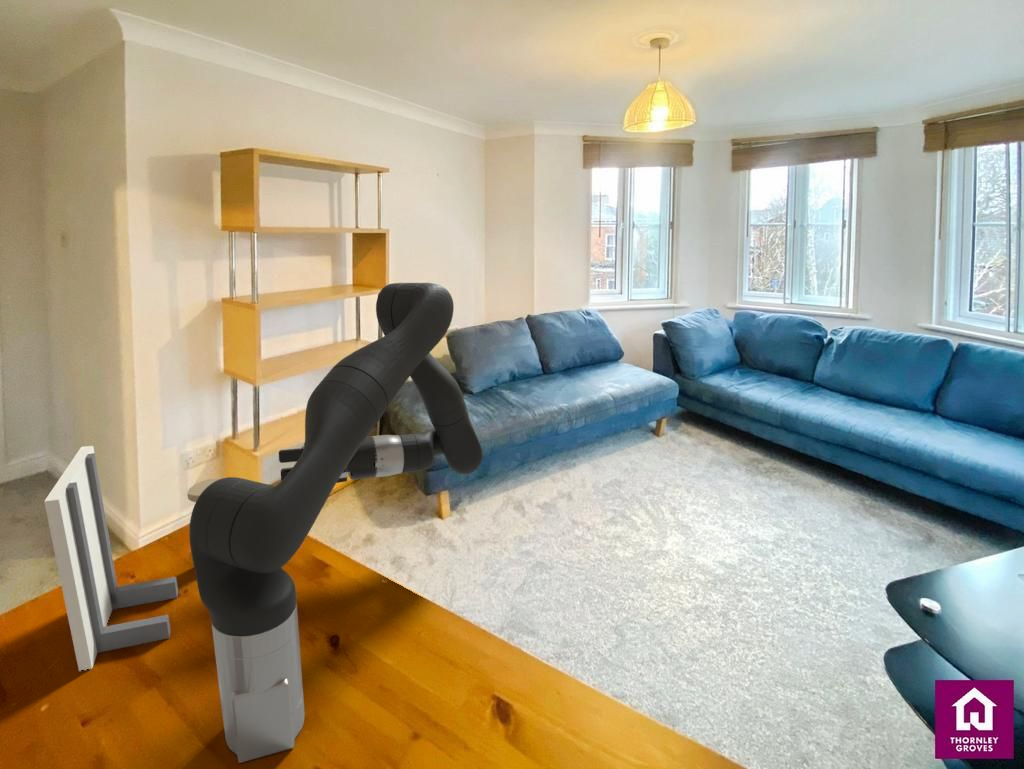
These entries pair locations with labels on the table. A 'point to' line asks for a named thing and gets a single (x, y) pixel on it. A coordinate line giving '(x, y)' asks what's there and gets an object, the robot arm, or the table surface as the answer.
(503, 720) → the table surface
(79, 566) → the rack
